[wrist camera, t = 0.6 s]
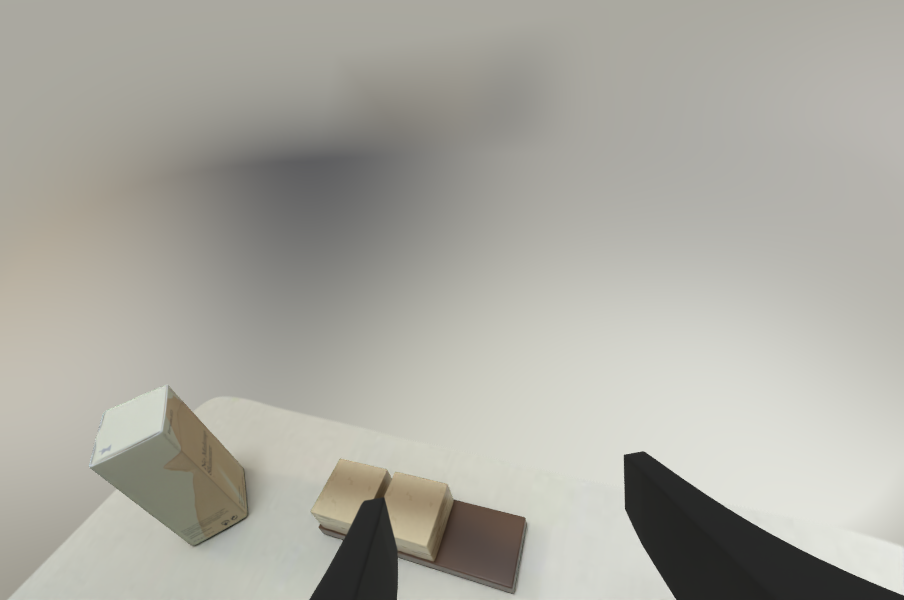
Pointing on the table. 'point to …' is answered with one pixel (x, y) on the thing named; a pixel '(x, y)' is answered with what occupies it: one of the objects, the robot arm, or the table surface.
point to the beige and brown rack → (427, 523)
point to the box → (170, 465)
